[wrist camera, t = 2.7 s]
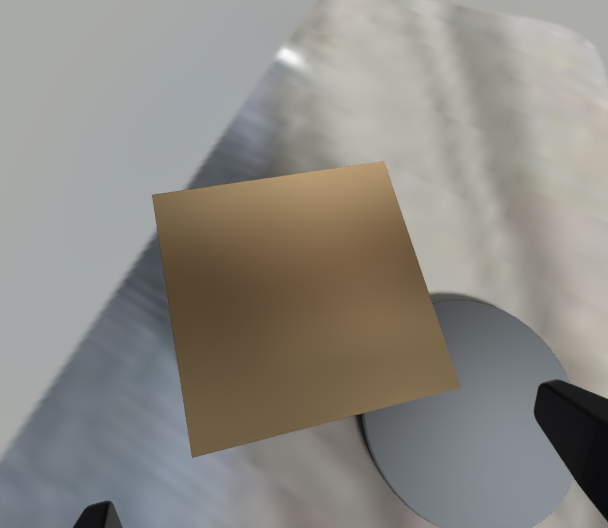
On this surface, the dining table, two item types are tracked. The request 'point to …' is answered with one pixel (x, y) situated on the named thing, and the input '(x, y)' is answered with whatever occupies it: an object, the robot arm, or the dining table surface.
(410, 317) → the wooden stool
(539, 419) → the robot arm
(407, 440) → the disc
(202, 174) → the dining table surface
